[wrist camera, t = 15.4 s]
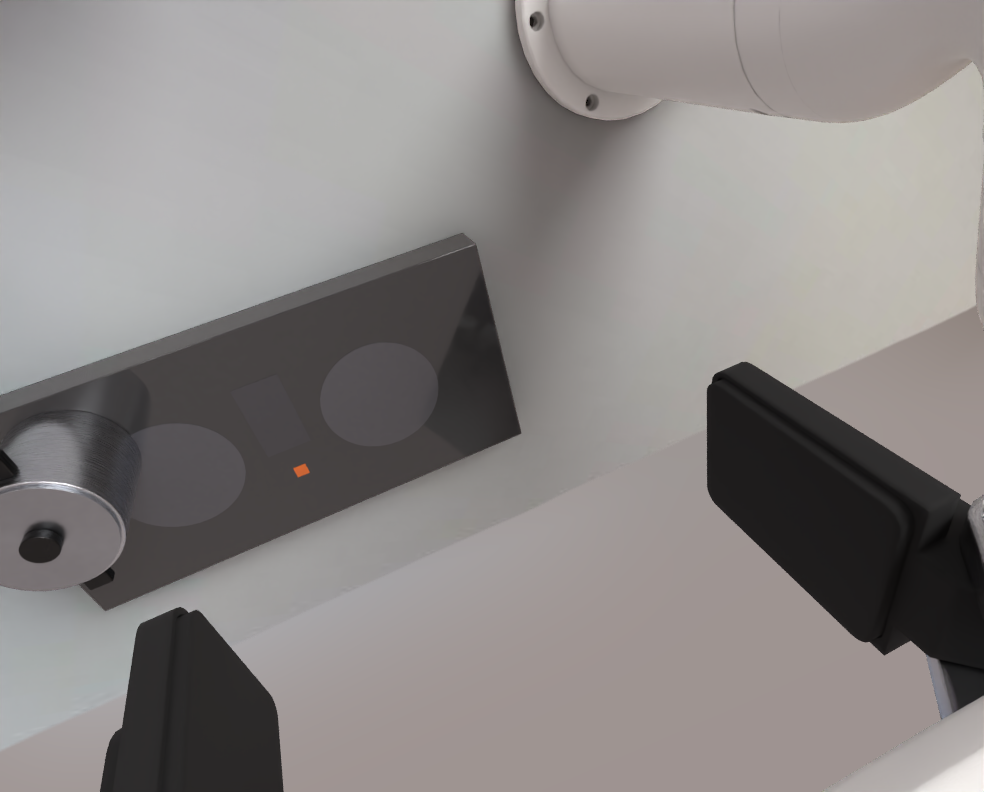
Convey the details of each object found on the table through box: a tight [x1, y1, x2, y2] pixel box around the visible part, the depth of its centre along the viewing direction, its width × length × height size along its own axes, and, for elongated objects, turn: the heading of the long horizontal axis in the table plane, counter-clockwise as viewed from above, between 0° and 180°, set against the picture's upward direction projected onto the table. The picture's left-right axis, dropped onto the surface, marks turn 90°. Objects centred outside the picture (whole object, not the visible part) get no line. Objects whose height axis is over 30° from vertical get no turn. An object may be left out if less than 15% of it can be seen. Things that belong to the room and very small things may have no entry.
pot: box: [0, 411, 142, 591], centre depth 30 cm, size 7×9×7 cm
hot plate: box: [0, 233, 521, 611], centre depth 38 cm, size 30×15×2 cm, turn 102°
